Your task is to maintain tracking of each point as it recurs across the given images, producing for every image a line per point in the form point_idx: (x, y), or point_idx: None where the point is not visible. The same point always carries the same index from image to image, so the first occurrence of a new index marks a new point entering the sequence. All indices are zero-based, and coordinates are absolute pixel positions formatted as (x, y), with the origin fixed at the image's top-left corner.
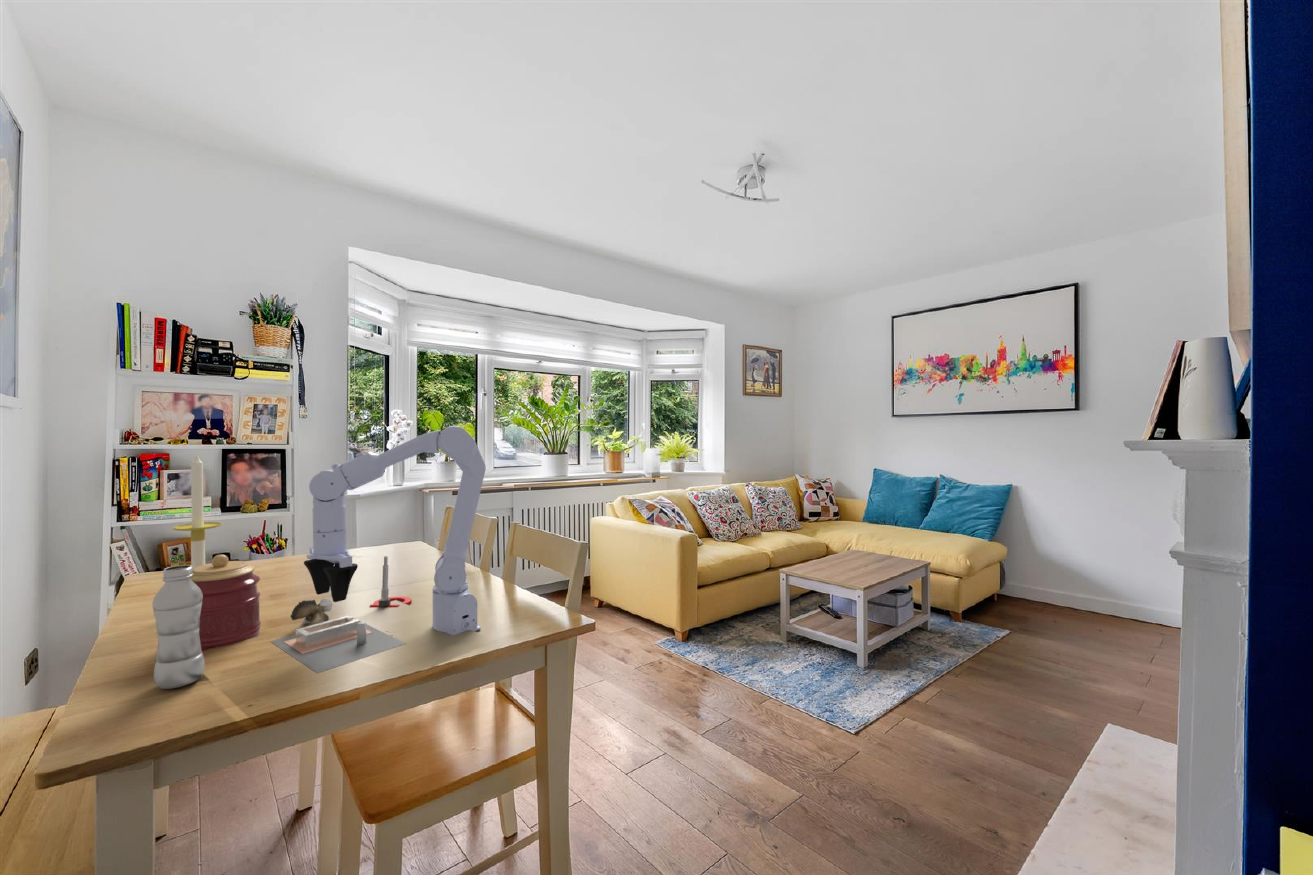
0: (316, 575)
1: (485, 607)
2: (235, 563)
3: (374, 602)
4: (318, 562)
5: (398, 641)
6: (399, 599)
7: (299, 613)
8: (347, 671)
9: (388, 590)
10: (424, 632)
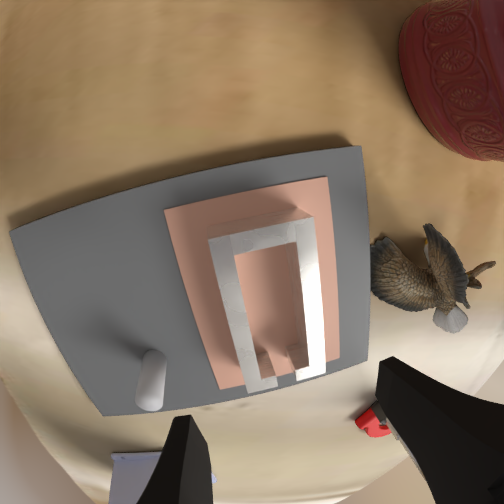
0: (444, 428)
1: (247, 499)
2: None
3: None
4: (480, 491)
5: (121, 411)
6: None
7: (434, 251)
8: (28, 291)
9: (395, 438)
10: None
